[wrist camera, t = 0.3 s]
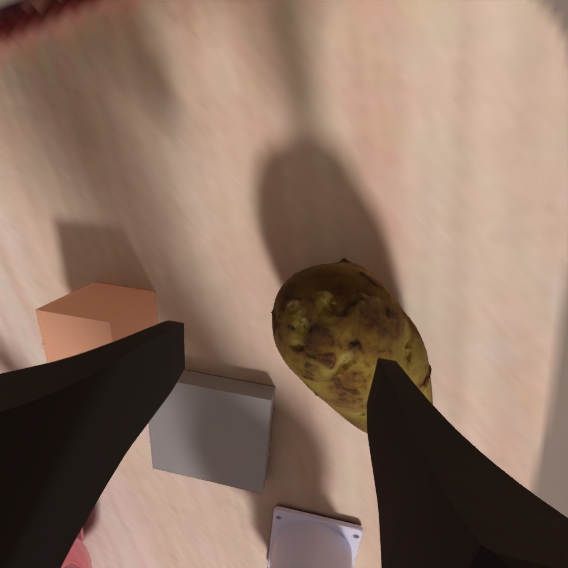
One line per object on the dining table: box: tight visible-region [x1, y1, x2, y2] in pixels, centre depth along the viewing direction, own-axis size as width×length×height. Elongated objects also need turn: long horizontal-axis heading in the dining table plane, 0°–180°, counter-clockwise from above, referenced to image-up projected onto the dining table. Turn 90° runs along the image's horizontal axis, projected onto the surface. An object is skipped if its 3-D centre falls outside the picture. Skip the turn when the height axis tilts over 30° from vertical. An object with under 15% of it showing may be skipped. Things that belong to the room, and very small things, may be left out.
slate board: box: [149, 370, 275, 494], centre depth 26 cm, size 10×10×2 cm
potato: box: [271, 258, 433, 434], centre depth 18 cm, size 8×13×8 cm, turn 10°
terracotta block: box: [36, 282, 158, 363], centre depth 22 cm, size 5×5×5 cm
